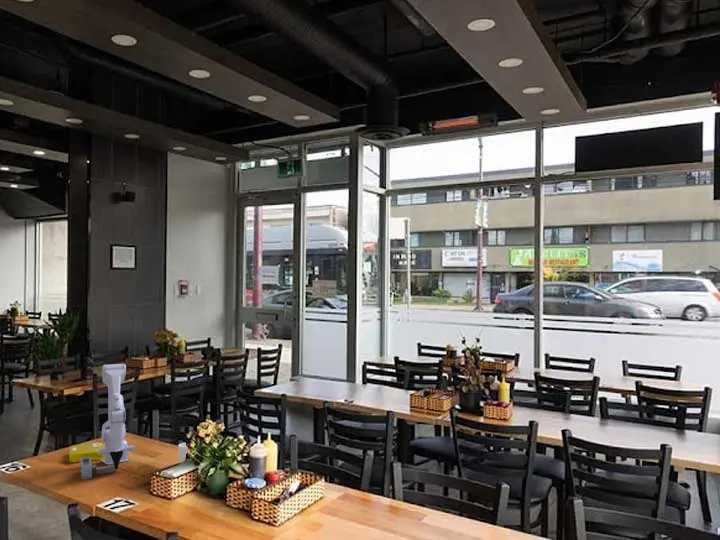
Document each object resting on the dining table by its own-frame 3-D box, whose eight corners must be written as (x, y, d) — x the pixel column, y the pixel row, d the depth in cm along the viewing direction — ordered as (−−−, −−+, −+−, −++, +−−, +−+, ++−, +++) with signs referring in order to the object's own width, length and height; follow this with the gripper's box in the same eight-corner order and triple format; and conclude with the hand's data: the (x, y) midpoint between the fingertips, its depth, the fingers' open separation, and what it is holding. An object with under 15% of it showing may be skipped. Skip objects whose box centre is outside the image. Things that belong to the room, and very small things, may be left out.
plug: (113, 469, 256) (113, 463, 256) (113, 472, 252) (114, 465, 252) (83, 473, 251) (83, 466, 251) (83, 476, 248) (83, 468, 248)
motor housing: (90, 469, 256) (90, 455, 256) (91, 478, 245) (92, 463, 245) (80, 471, 254) (80, 456, 254) (81, 479, 243) (81, 464, 243)
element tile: (70, 454, 278) (70, 444, 278) (104, 451, 284) (104, 441, 284) (69, 464, 264) (69, 453, 264) (105, 460, 271) (105, 449, 271)
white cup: (185, 471, 256) (185, 448, 256) (174, 467, 261) (174, 444, 261) (199, 466, 262) (200, 444, 262) (188, 463, 267) (189, 441, 267)
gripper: (99, 441, 248) (98, 474, 248) (135, 438, 255) (134, 469, 254) (98, 437, 254) (97, 469, 254) (133, 434, 261) (133, 464, 261)
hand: (116, 468), depth 255 cm, fingers closed
